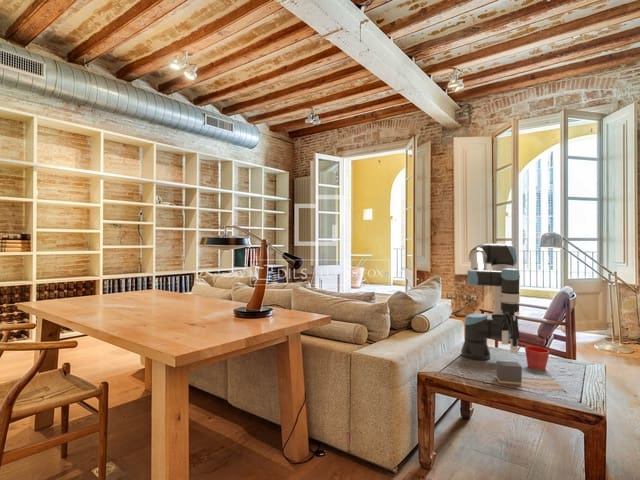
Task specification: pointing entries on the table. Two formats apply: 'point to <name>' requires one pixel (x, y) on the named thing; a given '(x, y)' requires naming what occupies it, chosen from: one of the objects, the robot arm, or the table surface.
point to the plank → (536, 384)
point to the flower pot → (536, 357)
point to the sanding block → (509, 372)
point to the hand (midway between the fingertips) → (509, 348)
